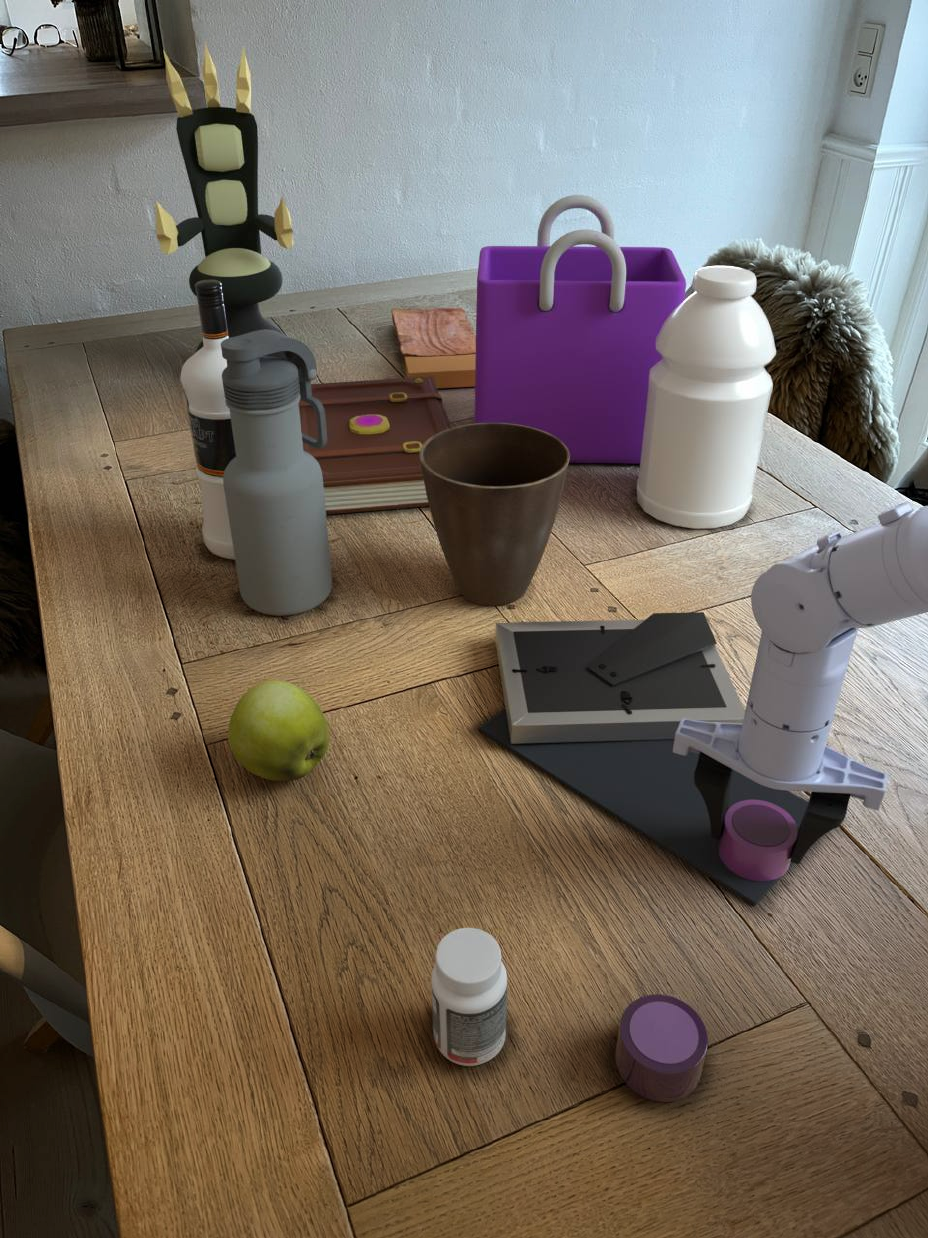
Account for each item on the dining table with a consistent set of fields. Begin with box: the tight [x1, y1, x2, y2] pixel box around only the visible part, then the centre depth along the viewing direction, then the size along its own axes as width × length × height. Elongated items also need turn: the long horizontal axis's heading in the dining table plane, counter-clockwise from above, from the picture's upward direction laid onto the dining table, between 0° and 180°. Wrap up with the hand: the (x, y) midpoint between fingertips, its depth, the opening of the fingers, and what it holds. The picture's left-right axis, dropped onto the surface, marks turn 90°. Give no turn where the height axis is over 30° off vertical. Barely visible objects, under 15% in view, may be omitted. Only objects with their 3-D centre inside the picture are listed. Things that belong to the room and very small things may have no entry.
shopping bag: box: [473, 194, 687, 465], centre depth 131 cm, size 28×22×30 cm
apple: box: [227, 679, 331, 782], centre depth 84 cm, size 8×9×8 cm
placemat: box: [478, 708, 809, 907], centre depth 85 cm, size 28×12×1 cm, turn 46°
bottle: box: [636, 265, 777, 529], centre depth 116 cm, size 14×14×28 cm
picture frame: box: [494, 611, 746, 744], centre depth 93 cm, size 16×3×21 cm
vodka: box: [179, 280, 236, 561], centre depth 108 cm, size 9×9×30 cm
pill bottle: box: [430, 927, 508, 1067], centre depth 63 cm, size 5×5×8 cm
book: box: [299, 376, 452, 515], centre depth 134 cm, size 23×32×5 cm
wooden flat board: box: [390, 307, 476, 389], centre depth 165 cm, size 13×30×3 cm, turn 8°
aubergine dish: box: [614, 993, 709, 1103], centre depth 63 cm, size 5×5×3 cm
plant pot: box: [420, 423, 570, 607], centre depth 104 cm, size 15×15×16 cm
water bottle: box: [221, 329, 333, 617], centre depth 100 cm, size 10×10×28 cm
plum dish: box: [718, 800, 798, 882], centre depth 76 cm, size 5×5×3 cm
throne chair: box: [155, 40, 294, 360], centre depth 149 cm, size 19×22×45 cm
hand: (757, 842), depth 76 cm, fingers closed on plum dish, 5 cm apart
